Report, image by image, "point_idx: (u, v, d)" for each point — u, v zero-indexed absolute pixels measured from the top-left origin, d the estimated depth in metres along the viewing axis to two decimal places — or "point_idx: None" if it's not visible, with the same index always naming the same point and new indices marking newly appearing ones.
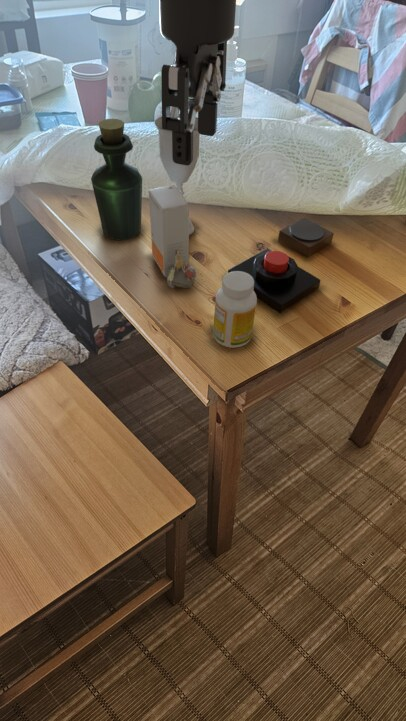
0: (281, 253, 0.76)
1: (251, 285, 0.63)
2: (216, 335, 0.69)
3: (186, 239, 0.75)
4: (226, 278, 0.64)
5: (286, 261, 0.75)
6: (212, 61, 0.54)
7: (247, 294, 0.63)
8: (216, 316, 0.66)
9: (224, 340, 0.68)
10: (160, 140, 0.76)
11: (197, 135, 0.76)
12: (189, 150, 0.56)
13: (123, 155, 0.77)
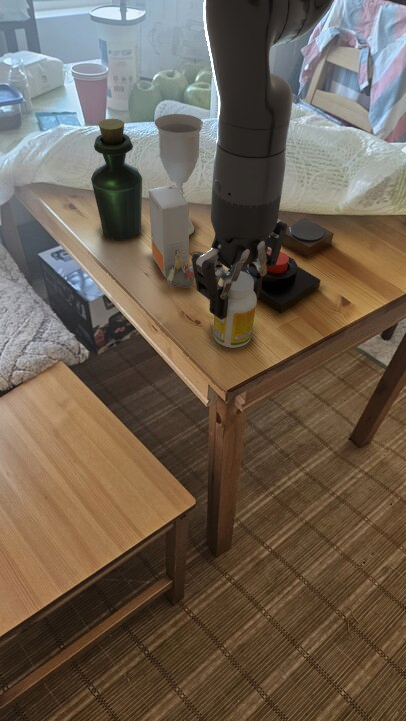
0: (281, 253, 0.76)
1: (251, 285, 0.63)
2: (216, 335, 0.69)
3: (186, 239, 0.75)
4: None
5: (286, 261, 0.75)
6: (255, 244, 0.59)
7: (247, 294, 0.63)
8: None
9: (224, 340, 0.68)
10: (160, 140, 0.76)
11: (197, 135, 0.76)
12: (222, 309, 0.63)
13: (123, 155, 0.77)
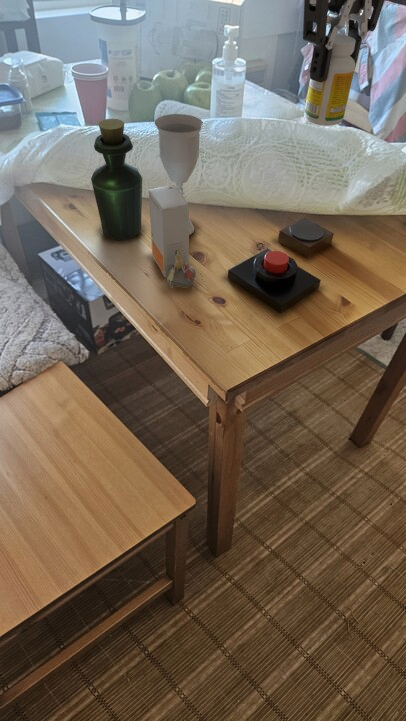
0: (281, 253, 0.76)
1: (353, 41, 0.62)
2: (309, 112, 0.68)
3: (186, 239, 0.75)
4: None
5: (286, 261, 0.75)
6: None
7: (349, 51, 0.62)
8: (312, 86, 0.66)
9: (319, 115, 0.67)
10: (160, 140, 0.76)
11: (197, 135, 0.76)
12: (324, 67, 0.62)
13: (123, 155, 0.77)
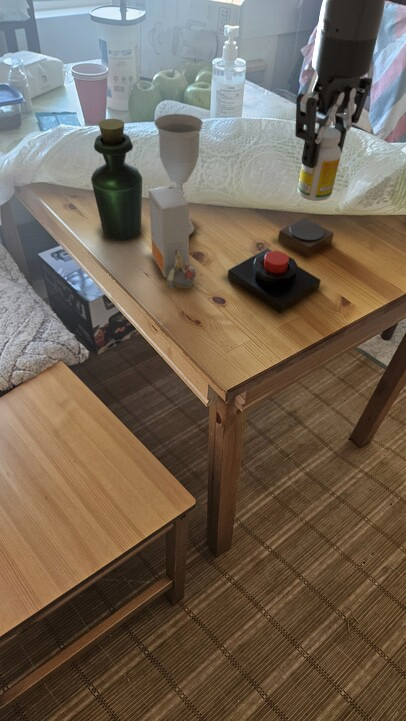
0: (281, 253, 0.76)
1: (339, 135, 0.72)
2: (302, 190, 0.78)
3: (186, 239, 0.75)
4: (316, 130, 0.73)
5: (286, 261, 0.75)
6: (348, 91, 0.68)
7: (335, 143, 0.73)
8: (304, 169, 0.76)
9: (310, 192, 0.77)
10: (160, 140, 0.76)
11: (197, 135, 0.76)
12: (314, 157, 0.73)
13: (123, 155, 0.77)
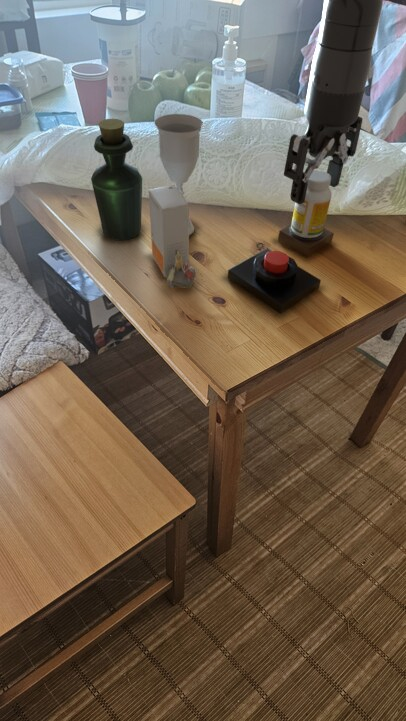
0: (281, 253, 0.76)
1: (329, 179, 0.77)
2: (295, 227, 0.83)
3: (186, 239, 0.75)
4: None
5: (286, 261, 0.75)
6: (338, 136, 0.73)
7: (326, 186, 0.77)
8: (297, 209, 0.81)
9: (302, 230, 0.82)
10: (160, 140, 0.76)
11: (197, 135, 0.76)
12: (302, 194, 0.76)
13: (123, 155, 0.77)
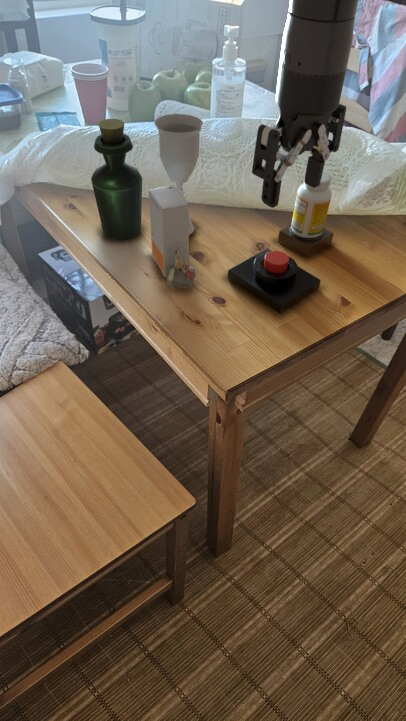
0: (281, 253, 0.76)
1: (329, 179, 0.77)
2: (295, 227, 0.83)
3: (186, 239, 0.75)
4: None
5: (286, 261, 0.75)
6: (316, 127, 0.62)
7: (326, 186, 0.77)
8: (297, 209, 0.81)
9: (302, 230, 0.82)
10: (160, 140, 0.76)
11: (197, 135, 0.76)
12: (274, 195, 0.65)
13: (123, 155, 0.77)
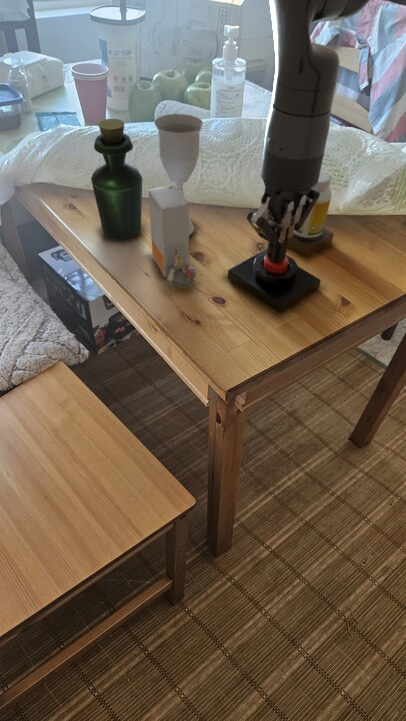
0: None
1: (329, 179, 0.77)
2: None
3: (186, 239, 0.75)
4: None
5: (286, 263, 0.75)
6: (298, 198, 0.68)
7: (326, 186, 0.77)
8: None
9: (302, 230, 0.82)
10: (160, 140, 0.76)
11: (197, 135, 0.76)
12: (278, 254, 0.73)
13: (123, 155, 0.77)
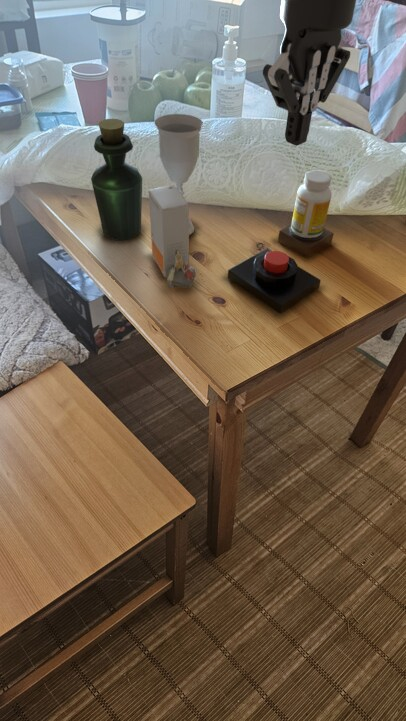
0: (281, 253, 0.76)
1: (329, 179, 0.77)
2: (295, 227, 0.83)
3: (186, 239, 0.75)
4: (308, 174, 0.78)
5: (286, 261, 0.75)
6: (325, 50, 0.55)
7: (326, 186, 0.77)
8: (297, 209, 0.81)
9: (302, 230, 0.82)
10: (160, 140, 0.76)
11: (197, 135, 0.76)
12: (299, 131, 0.61)
13: (123, 155, 0.77)
